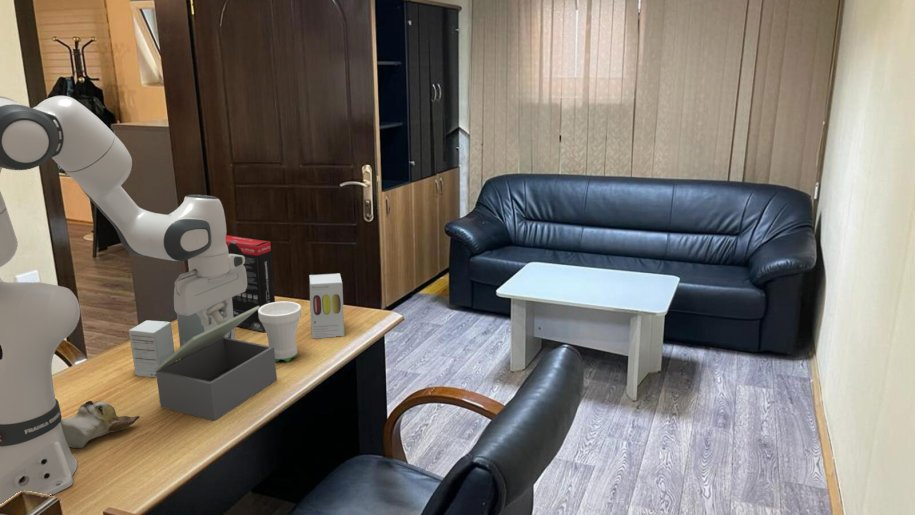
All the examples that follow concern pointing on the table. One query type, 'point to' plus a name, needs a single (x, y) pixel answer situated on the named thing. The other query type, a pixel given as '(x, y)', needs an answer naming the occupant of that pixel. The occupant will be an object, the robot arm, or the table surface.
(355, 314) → the table surface
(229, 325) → the lid flap
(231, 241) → the graphics card box
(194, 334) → the hard drive box
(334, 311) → the supplement box
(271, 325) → the cup
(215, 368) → the carton
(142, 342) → the supplement box
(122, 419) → the ceramic sculpture
